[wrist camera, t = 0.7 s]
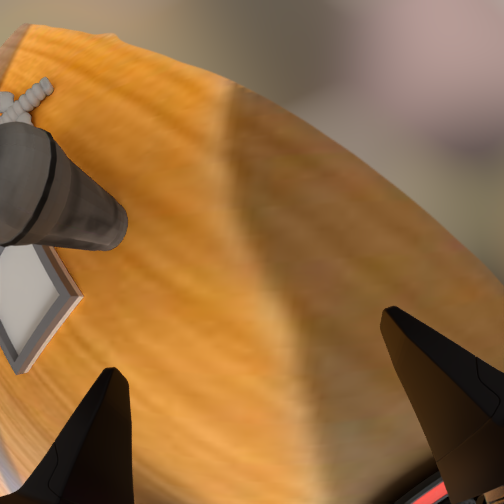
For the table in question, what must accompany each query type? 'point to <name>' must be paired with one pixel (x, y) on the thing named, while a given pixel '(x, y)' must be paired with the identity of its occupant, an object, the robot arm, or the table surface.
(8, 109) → the toy creature
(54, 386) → the table surface
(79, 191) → the beverage cup
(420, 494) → the electronic game
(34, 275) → the tray
